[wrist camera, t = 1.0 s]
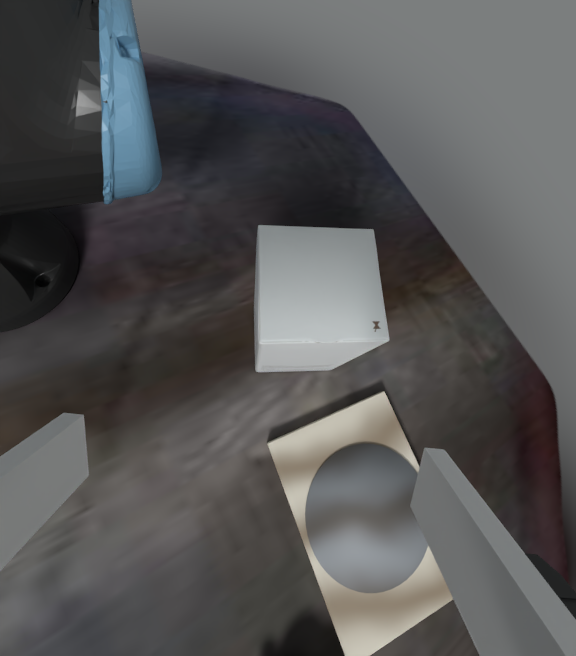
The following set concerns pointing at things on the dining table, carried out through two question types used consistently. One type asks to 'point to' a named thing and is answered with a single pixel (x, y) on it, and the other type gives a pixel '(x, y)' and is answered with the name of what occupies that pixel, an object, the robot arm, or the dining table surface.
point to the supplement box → (316, 297)
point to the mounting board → (361, 522)
